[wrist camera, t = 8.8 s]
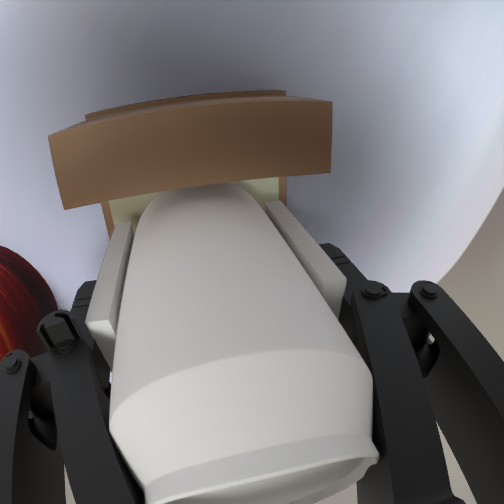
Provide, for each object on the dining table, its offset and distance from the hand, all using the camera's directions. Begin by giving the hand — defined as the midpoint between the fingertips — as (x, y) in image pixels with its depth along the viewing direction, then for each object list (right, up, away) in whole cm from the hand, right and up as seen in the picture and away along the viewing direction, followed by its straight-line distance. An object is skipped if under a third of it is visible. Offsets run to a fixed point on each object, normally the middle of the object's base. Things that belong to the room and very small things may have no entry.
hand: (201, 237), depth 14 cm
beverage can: (0, 0, +1) cm, 1 cm away
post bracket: (-1, +2, +3) cm, 3 cm away
